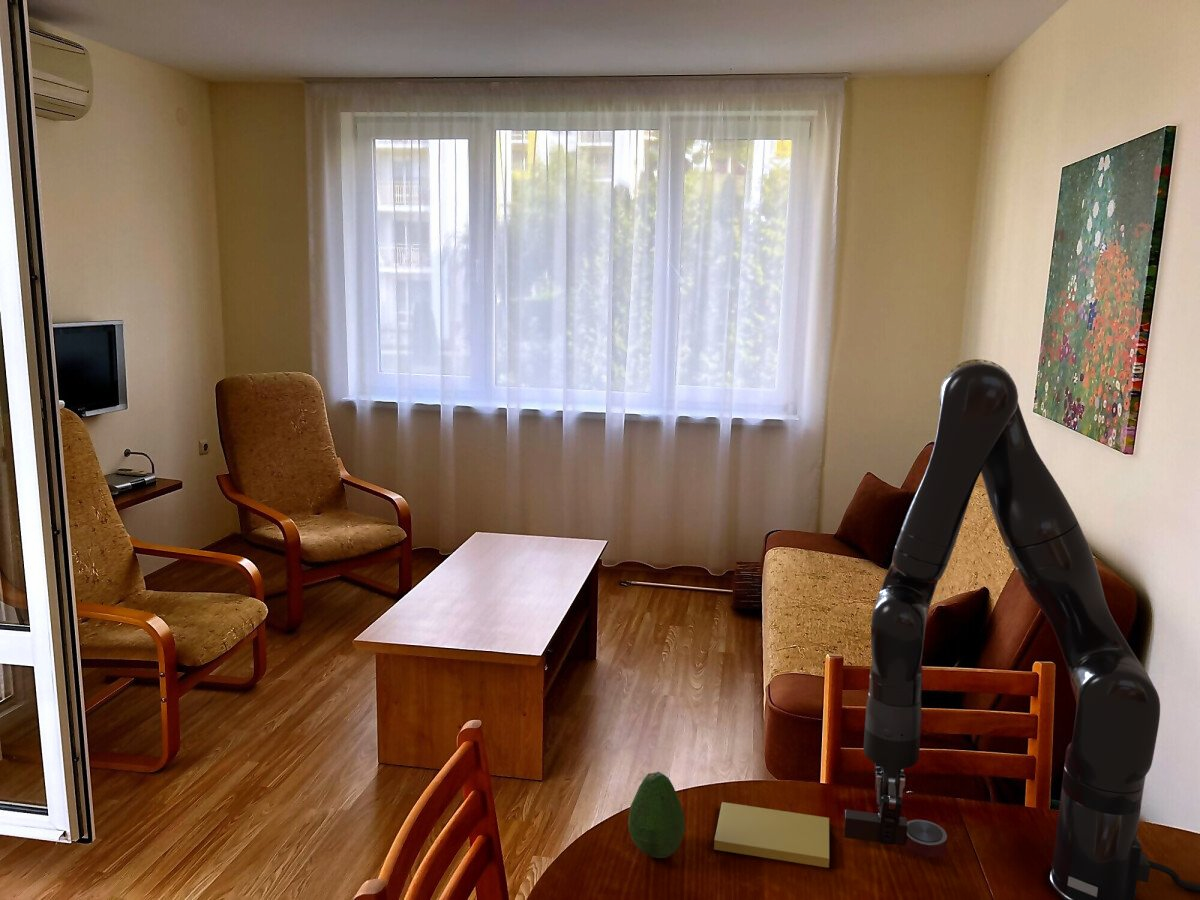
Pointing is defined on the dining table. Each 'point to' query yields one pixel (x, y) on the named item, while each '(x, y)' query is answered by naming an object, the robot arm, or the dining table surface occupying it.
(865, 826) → the frying pan
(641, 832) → the avocado
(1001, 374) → the robot arm
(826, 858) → the board
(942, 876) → the dining table surface
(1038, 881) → the dining table surface
